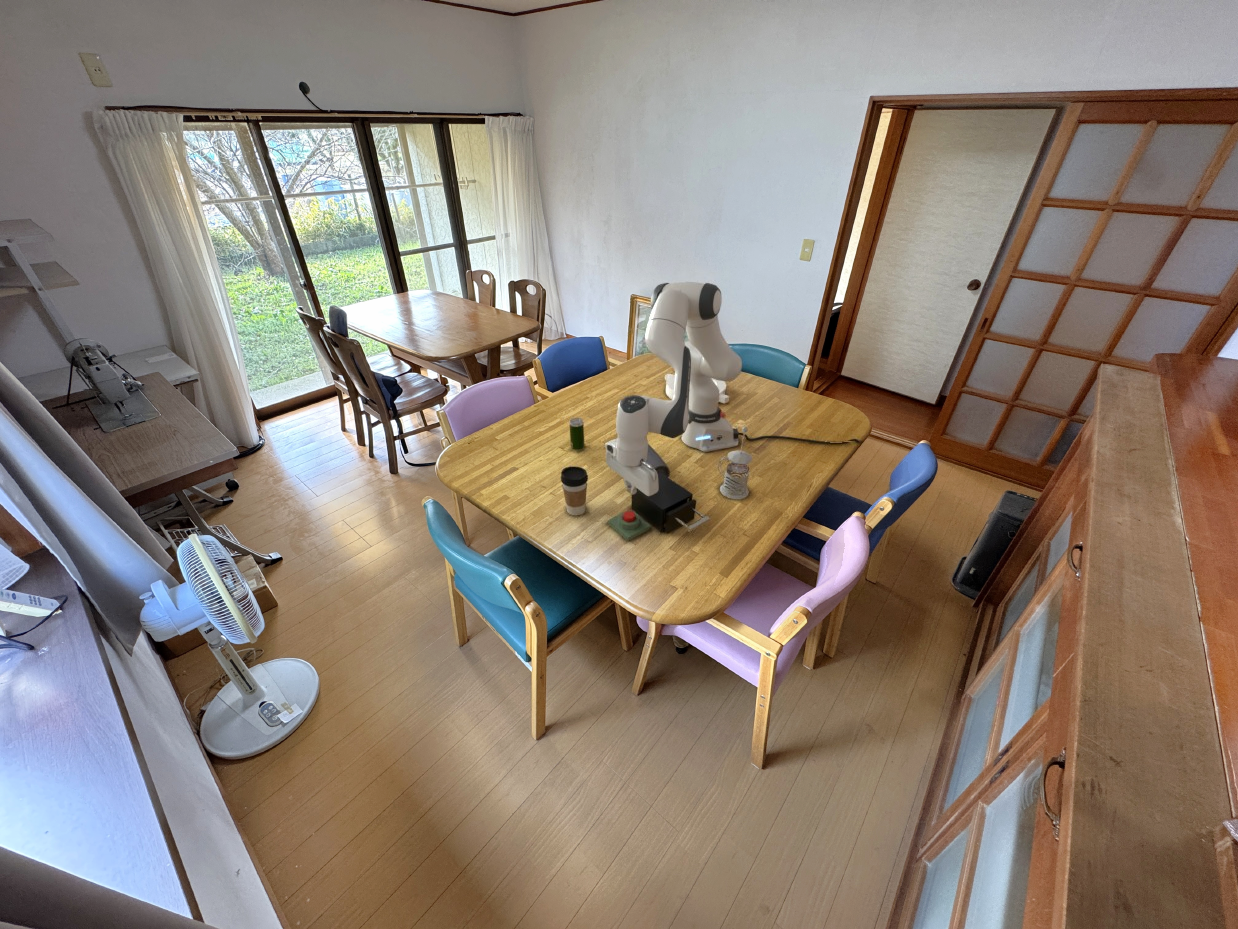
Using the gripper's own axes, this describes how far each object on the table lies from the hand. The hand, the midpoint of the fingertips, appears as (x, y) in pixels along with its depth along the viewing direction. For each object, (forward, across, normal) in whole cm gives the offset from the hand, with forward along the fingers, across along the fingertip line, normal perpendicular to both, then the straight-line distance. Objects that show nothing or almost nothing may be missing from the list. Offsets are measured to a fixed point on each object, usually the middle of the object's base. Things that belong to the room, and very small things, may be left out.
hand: (631, 491), depth 143 cm
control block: (+14, 0, 0) cm, 14 cm away
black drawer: (+13, -7, -12) cm, 19 cm away
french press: (+14, -7, -40) cm, 43 cm away
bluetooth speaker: (+14, +20, -23) cm, 34 cm away
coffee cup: (+14, +17, +9) cm, 24 cm away
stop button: (+10, 0, 0) cm, 10 cm away
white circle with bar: (+14, +56, -85) cm, 103 cm away
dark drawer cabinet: (+14, -1, -12) cm, 18 cm away
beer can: (+14, +48, -12) cm, 52 cm away
